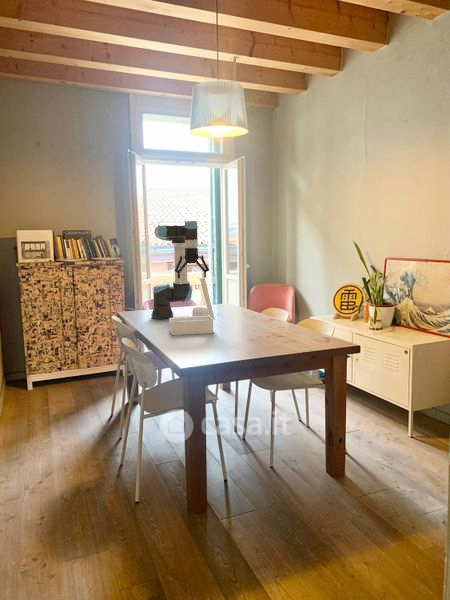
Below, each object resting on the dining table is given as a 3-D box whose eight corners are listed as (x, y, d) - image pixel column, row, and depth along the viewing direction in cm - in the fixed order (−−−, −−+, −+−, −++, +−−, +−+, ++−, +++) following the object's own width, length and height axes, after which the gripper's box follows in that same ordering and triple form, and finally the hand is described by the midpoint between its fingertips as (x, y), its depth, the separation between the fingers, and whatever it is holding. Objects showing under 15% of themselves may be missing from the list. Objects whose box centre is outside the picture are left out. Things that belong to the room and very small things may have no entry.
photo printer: (209, 325, 280) (208, 306, 278) (208, 327, 276) (208, 307, 274) (193, 325, 281) (192, 306, 279) (192, 327, 277) (191, 307, 275)
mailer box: (169, 331, 265) (169, 318, 264) (208, 328, 270) (208, 315, 269) (172, 335, 252) (171, 322, 251) (213, 333, 258) (213, 319, 257)
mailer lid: (197, 276, 264) (200, 276, 265) (206, 316, 269) (210, 315, 270) (201, 278, 251) (204, 277, 252) (211, 320, 256) (214, 319, 257)
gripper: (170, 248, 252) (171, 285, 255) (213, 247, 258) (214, 283, 261) (169, 247, 259) (170, 283, 262) (210, 246, 265) (211, 282, 268)
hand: (192, 283), depth 262 cm, fingers open, 13 cm apart
